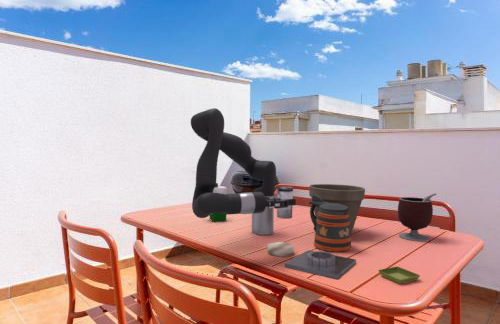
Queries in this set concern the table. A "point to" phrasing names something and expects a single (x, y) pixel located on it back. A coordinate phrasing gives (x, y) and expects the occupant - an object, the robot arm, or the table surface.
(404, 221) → the mate gourd
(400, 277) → the olive green shallow tray
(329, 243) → the beer stein
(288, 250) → the pedestal
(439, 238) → the table surface
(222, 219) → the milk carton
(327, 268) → the hub plate
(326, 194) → the plant pot
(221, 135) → the robot arm
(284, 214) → the glass jar with lid
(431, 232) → the table surface
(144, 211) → the table surface
